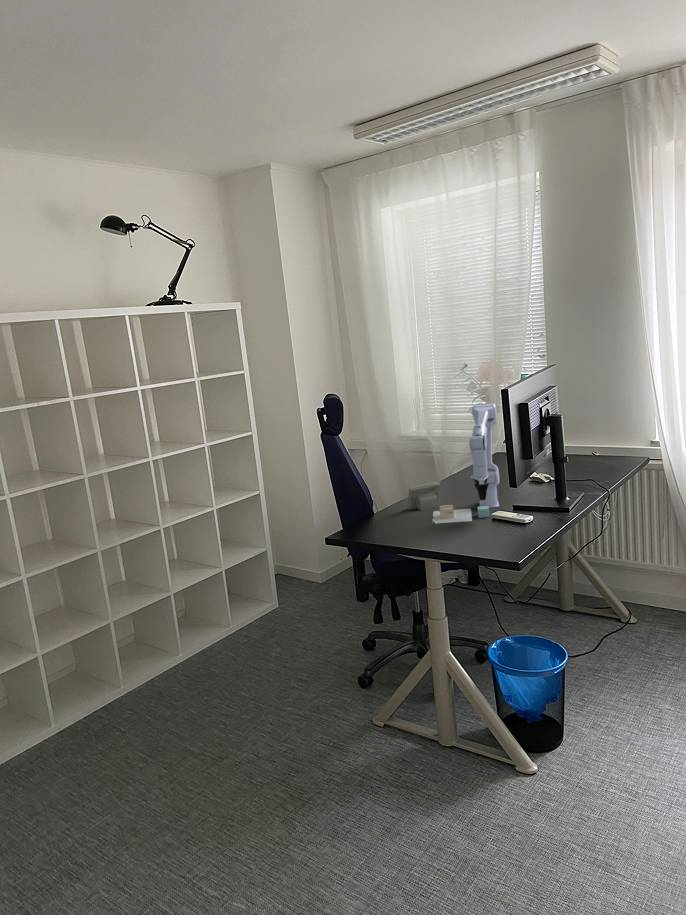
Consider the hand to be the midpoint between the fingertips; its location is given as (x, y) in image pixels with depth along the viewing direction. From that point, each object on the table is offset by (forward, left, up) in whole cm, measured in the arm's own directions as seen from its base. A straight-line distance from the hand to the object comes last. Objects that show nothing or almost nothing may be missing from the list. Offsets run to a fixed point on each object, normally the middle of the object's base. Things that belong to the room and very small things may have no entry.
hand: (482, 497), depth 290 cm
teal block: (0, 0, -8) cm, 8 cm away
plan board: (-3, -13, -8) cm, 16 cm away
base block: (-3, -15, -8) cm, 17 cm away
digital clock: (-21, -25, -8) cm, 34 cm away
